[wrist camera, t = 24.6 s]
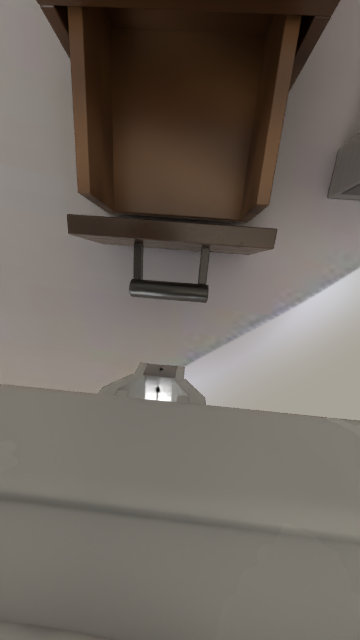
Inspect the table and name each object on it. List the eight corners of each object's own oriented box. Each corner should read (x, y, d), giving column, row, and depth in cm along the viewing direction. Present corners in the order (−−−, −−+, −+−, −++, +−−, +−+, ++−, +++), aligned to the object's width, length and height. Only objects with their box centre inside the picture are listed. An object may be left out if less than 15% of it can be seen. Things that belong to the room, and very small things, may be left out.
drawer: (241, 299, 18) (262, 311, 13) (104, 288, 19) (72, 296, 14) (283, 39, 14) (339, -99, 8) (97, 31, 14) (43, -106, 9)
